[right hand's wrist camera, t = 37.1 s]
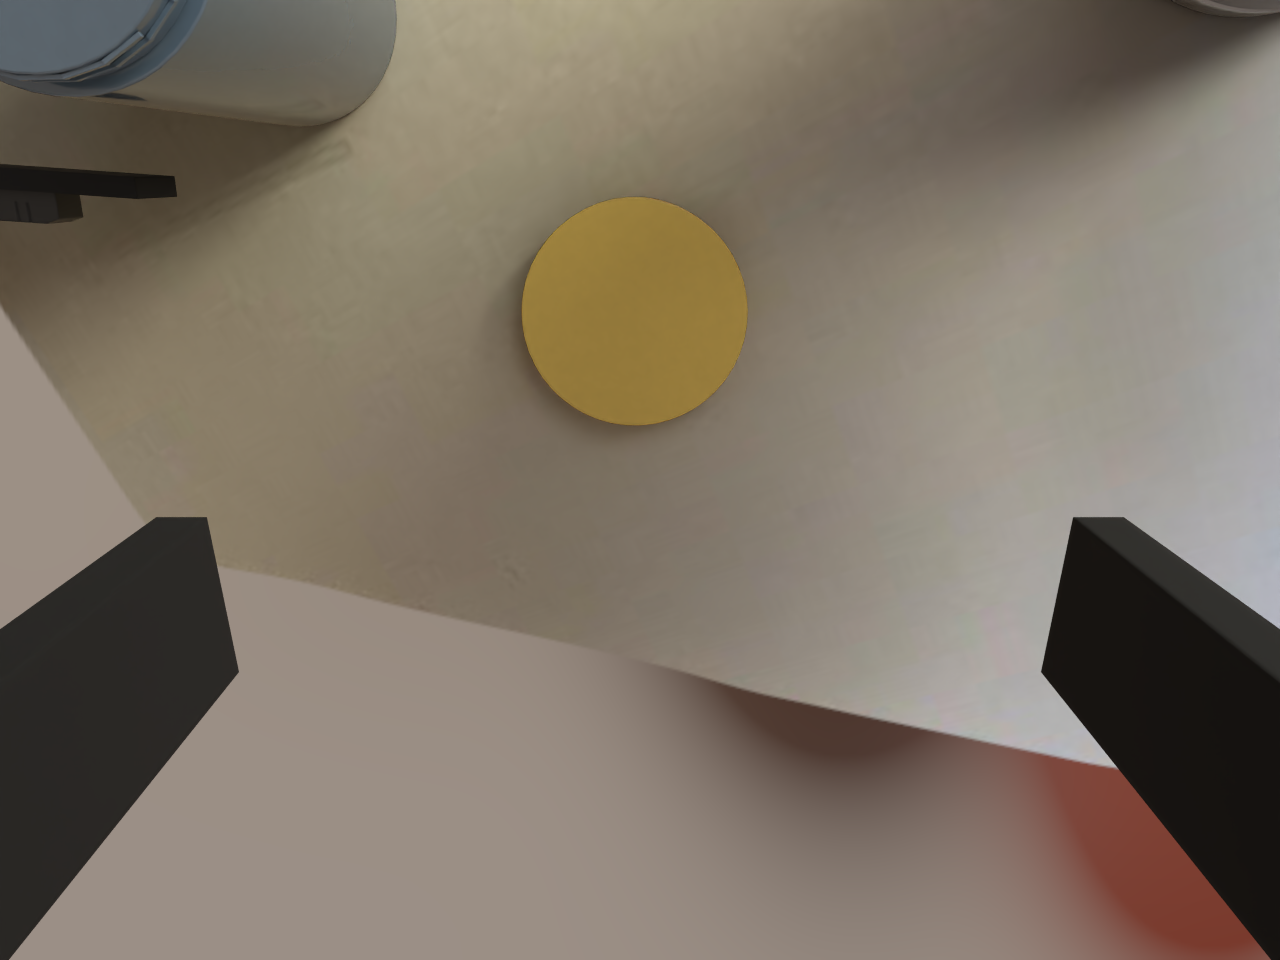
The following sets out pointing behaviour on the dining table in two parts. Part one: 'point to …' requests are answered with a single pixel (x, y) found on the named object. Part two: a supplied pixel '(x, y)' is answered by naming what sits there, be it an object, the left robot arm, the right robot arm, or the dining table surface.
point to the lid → (634, 311)
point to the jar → (203, 54)
